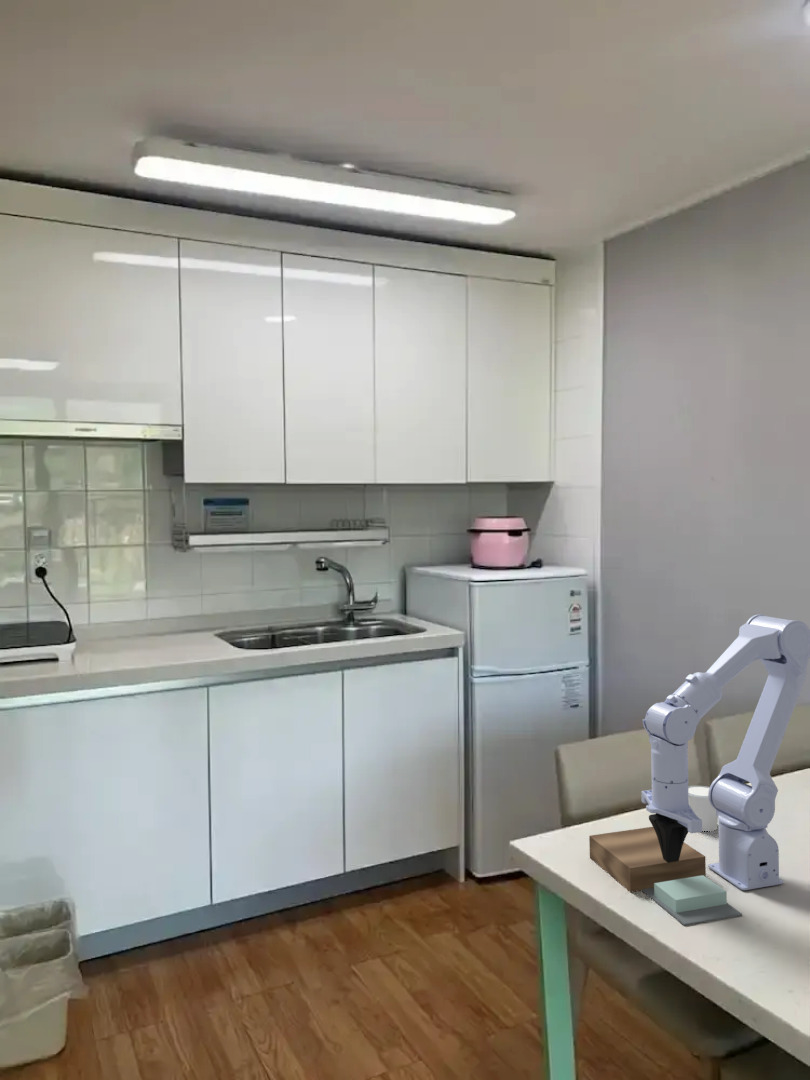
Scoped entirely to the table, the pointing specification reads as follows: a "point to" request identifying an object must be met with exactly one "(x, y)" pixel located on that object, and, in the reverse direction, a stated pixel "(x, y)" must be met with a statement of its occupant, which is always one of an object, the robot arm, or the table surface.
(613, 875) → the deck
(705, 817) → the white short cylinder
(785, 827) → the table surface
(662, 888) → the mint green flat block
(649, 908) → the table surface
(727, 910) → the mat
